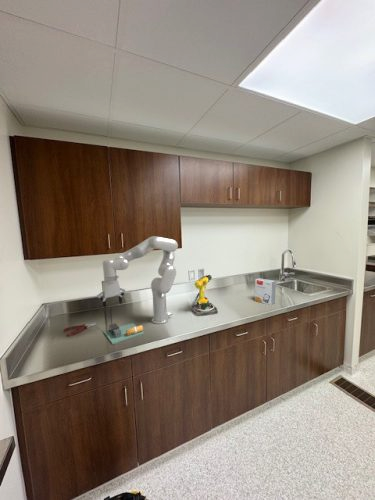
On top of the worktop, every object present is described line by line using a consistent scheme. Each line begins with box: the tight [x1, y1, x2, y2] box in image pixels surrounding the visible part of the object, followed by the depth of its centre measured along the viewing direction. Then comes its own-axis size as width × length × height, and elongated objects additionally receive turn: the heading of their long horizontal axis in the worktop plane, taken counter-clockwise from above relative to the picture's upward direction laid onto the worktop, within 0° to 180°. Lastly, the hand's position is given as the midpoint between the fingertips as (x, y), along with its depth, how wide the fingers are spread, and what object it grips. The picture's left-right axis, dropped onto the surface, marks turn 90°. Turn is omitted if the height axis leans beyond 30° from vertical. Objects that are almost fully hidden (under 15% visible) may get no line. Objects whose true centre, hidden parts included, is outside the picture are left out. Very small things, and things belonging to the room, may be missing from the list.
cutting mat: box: [103, 322, 145, 345], centre depth 136 cm, size 20×19×5 cm
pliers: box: [63, 322, 98, 337], centre depth 145 cm, size 12×20×3 cm, turn 132°
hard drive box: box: [254, 277, 276, 306], centre depth 184 cm, size 16×8×20 cm, turn 42°
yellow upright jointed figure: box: [191, 274, 219, 316], centre depth 169 cm, size 18×19×28 cm
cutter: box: [108, 323, 122, 338], centre depth 135 cm, size 4×13×4 cm, turn 36°
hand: (112, 304), depth 135 cm, fingers open, 9 cm apart
